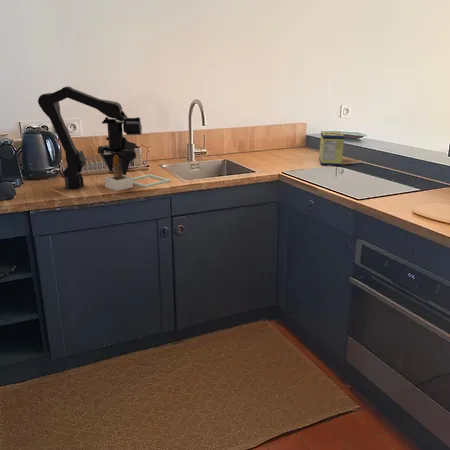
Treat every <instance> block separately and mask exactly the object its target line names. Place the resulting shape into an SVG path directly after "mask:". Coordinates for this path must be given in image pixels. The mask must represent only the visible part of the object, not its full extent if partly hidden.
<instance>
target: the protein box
mask: <svg viewBox="0 0 450 450" xmlns="http://www.w3.org/2000/svg"><path fill="white" fill-rule="evenodd" d="M344 145H345V135H344V134H343V133H342V132H341V131H331V130H330V131H329V130H328V131H327V130H326V131H325V130H324V131H323V130H321V132H320V143H319V154H318V155H319V157H318V161H319V163H320V165H321V166H323V167H328V166H327V165H334V166H333V167H342V163H343V153H344Z"/></svg>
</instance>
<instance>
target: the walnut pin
mask: <svg viewBox="0 0 450 450" xmlns="http://www.w3.org/2000/svg"><path fill="white" fill-rule="evenodd" d="M113 176H114V179H115V180H120V179H123V173H122V170H121V167H120V165H113Z"/></svg>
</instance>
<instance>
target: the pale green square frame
mask: <svg viewBox="0 0 450 450" xmlns="http://www.w3.org/2000/svg"><path fill="white" fill-rule="evenodd" d="M146 178H153V179H157V180H161V181H156V182H150V183H147V184H144V183H139V182H136V181H138V180H141V179H146ZM132 181H133V185H134V186H137V187H141V188H145V189H146V188H149V187H150V188H151V187H154V186H158V185H163V184H166V183H171V179H169V178H164V177H161V176H158V175H154V174H151V173H150V174H144V175H140V176H136V177H132Z"/></svg>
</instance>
